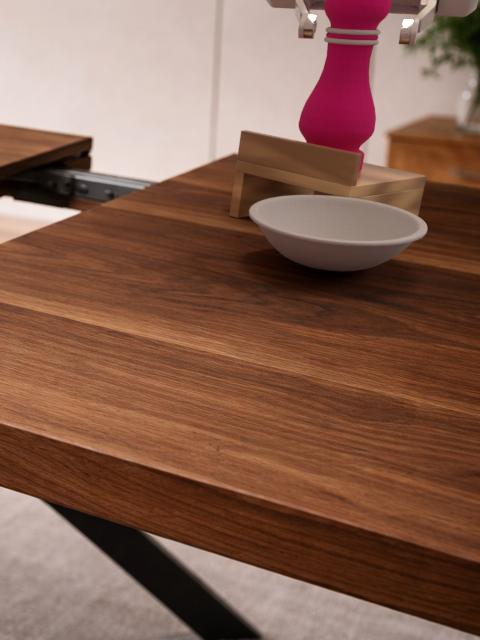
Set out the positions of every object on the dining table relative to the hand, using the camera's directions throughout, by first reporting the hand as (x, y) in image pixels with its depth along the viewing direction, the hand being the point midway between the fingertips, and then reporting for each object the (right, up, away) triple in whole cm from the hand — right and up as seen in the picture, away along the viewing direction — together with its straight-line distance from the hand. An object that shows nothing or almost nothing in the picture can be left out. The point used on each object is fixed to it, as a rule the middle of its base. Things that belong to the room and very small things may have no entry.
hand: (355, 37), depth 94 cm
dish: (-7, -24, -10) cm, 27 cm away
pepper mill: (-1, -12, +4) cm, 13 cm away
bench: (-1, -18, +6) cm, 19 cm away
